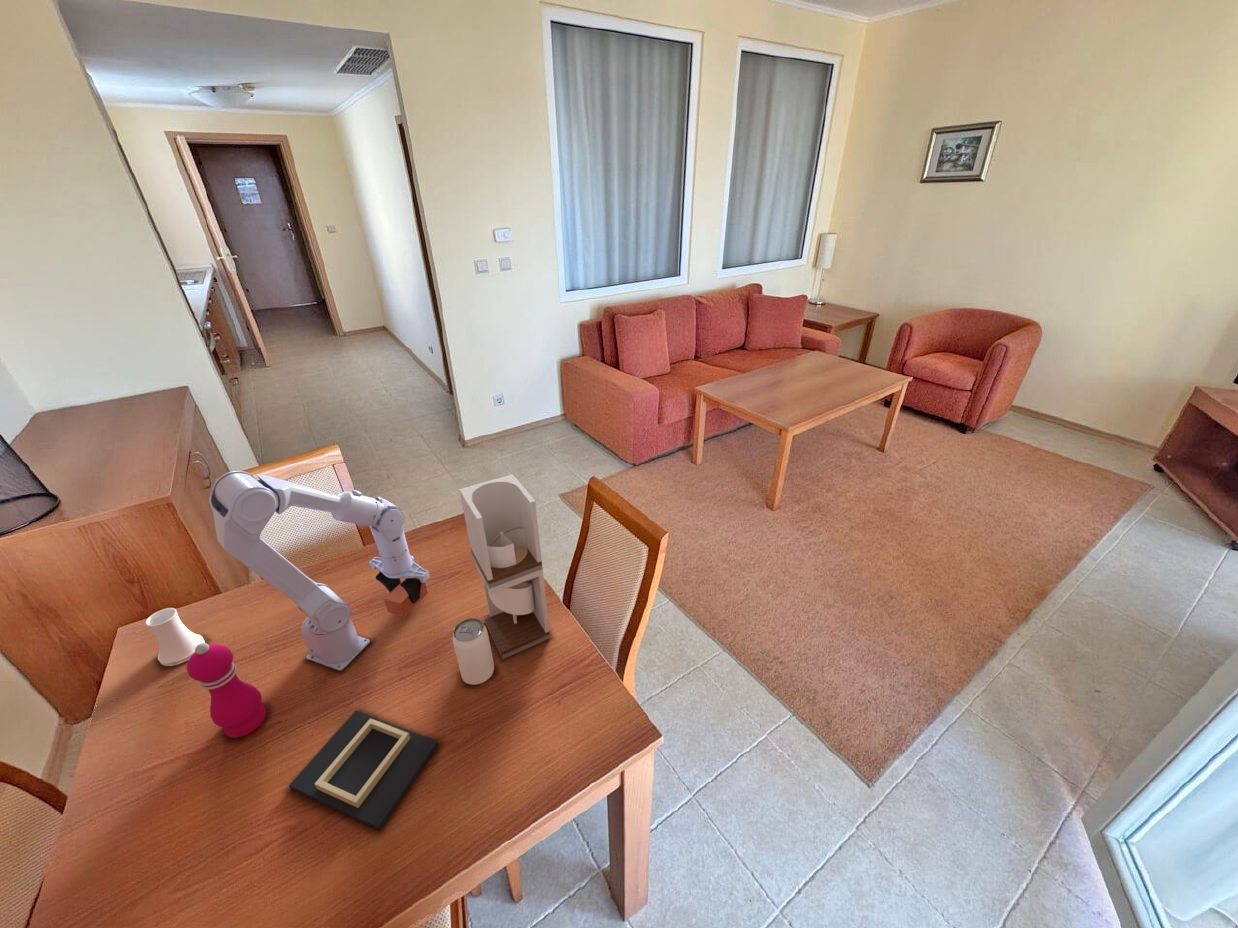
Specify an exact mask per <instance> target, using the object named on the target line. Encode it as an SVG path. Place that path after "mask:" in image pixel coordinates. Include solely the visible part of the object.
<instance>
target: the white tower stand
mask: <svg viewBox="0 0 1238 928" xmlns="http://www.w3.org/2000/svg"><path fill="white" fill-rule="evenodd" d="M458 491H459V495H460V500H461V505H462V510H463V515H464V521H465V526H466V531H467V537H468V541H469V547H470V551H471V557H472V561H473V563H474V565H475V567H476V570H477V571H478V573H479V575H480V576H481V579H482V582H483V588H484V593H485V599H486V604H487V609H488V614H486V615H484V617H483V618H484V622H485V626H486V628H487V631H489V632H488V633H489V634H490V636H491V638H492V640H493V642H494V644H495V647H496V649H497V650H498V651H497V652H498V653H499V656H500V657H501V659H502V660H505V659H507V658H509V657H511V656H513V655H516V654H518V653H520V652H523V651H524V650H527V649H529V648H531V647H533V646H535V645H538V644H541V643H542V642H545V641H547V640H550V639H551V632H550V624H549V623H550V622H549V614H548V606H547V605H548V604H547V596H546V586H545V578H544V570H543V569H544V567H543V560H542V552H541V551H542V550H541V541H540V533H539V524H538V515H537V506H536V500H535V499H534V498H533V496H532V495H531V494H530V493H529V492H528V490H527V489H526V488H525V487H524V485H522V483H521V482H520V481H519V480H518V479H517V477H516V476H515V475H514V474H508V475H506V476H502V477H498V478H495V479H491V480H487V481H484V482H480V483H477V484H473V485H470V486H466V487H463V488H459V490H458Z"/></svg>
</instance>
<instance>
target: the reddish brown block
mask: <svg viewBox="0 0 1238 928" xmlns="http://www.w3.org/2000/svg"><path fill="white" fill-rule="evenodd" d="M405 579H407V578H403V580H401V583H402V582H403V581H404V580H405ZM401 583H400V584H401ZM400 584H399V585H398V586H397V587H396V588H395V589H394V590H393V591H392V592H388V594H387V595H386V596H385V597H383V601H384V605H385V608H386V610H387V612H388V613H390V614H393V615H396V616H400V617H404V618H405V617H406V616H407V615H408V614H409V613H410V612H411V611H413V609H414V608H415V607H416V606H417V605H418V604H419V603H420V602H421V601H422V600H423V599H424V598H425V597H426V596H427V594H429V593H428V588H427V585H426V582H425V583H422V585H421V592H420V599H419V600H418V601H417V602H416V603H412V602H411V600H410V599H409V596H408V594H407V592H406V590H405V589H404V588H403V587H402V586H401V585H400Z"/></svg>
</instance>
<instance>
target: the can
mask: <svg viewBox="0 0 1238 928" xmlns="http://www.w3.org/2000/svg"><path fill="white" fill-rule="evenodd" d="M452 632H453V633H452V644H453V649H454V653H455V657H456V661H457V666H458V669H459V673H460V675H461V676H460V677H461V679H462V681H463V682H464V683H465V684H467V685H473V686H475V685H480V684H484V683H485V682H487V681H488V680H489V679H490V678H492V676H493V674H494V671H495V661H494V656H493V653H492V647H491V642H490V637H489V632H488V628H487V626H486V625H485V624H484V622H483V621H482V619H480V618H476V617H469V618H465V619H462V620H461V621H459V622H458V623H457V624H456V625H455V626H454V628H453V631H452Z"/></svg>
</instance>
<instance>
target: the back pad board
mask: <svg viewBox="0 0 1238 928" xmlns="http://www.w3.org/2000/svg"><path fill="white" fill-rule="evenodd" d="M438 746H439V742H438V741H437V740H435V739H432V738H430V737H427V736H424V735H422V734H419V733H417V732H414V731H412V730H409V729H407V728H403V727H401V726H398V725H395V724H394V723H391V722H389V721H386V720H383V719H380V718H378V717H376V716H372V715H370V714H368V713H365V712H362V711H359V710H358V709H357V710H355V711H354V712H353V713H352V714H351V715H350V716H349V718H348V719H347V720H346V721H345V722H344V723H343V724H342V726H341V727H340V728H339V729H338V730H337V731H336V732H335V733H334V734H333V736H332V737H331V738H330V739H328V741H327V742H326V743H325V744H324V745H323V747H321V749H320V750H319V751H318V752H317V753H316V755H314V757H313V758H312V759H311V760H310V761H309V763H308V764H307V765H306V766H305V767H304V768H303V769H302V770H301V771H300V772H299V773H298V775H297V776H296V777H294V779H293V780H292V781H291V783H290V784H289V785H288V787H289V789H290V790H292V791H294V792H296V793H299V794H301V795H303V796H305V797H307V798H308V799H311V800H313V801H315V802H317V803H320V804H322V805H324V806H326V807H328V808H330V809H332V810H334V811H337V812H338V813H341V814H343V815H345V816H347V817H349V818H351V819H354V820H356V821H358V822H360V823H361V824H364V825H367V826H369V827H371V828H372V829H375V830H377V831H381V829H382V827H383V826H384V825H385V823H386V822H387V821H388V819H389V817H391V815H392V814H393V812H394V810H395V809H396V808H397V806H398V804H399V803H400V802H401V800H402V799H403V797H404V796H405V794H406V793H407V791H408V790H409V788H410V787H411V785H412V784H413V782H414V781H415V780H416V779H417V777H418V776H419V774H420V773H421V771H422V770H423V768H424V767H425V765H426V764H427V762H428V761H429V759H430V758H431V756H432V755H433V754H434V752H435V751H436V749H437V748H438Z"/></svg>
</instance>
